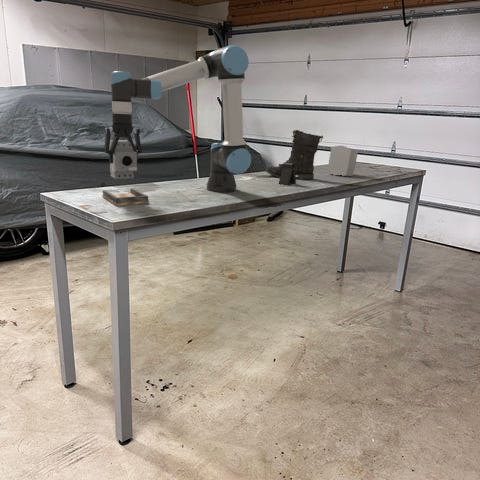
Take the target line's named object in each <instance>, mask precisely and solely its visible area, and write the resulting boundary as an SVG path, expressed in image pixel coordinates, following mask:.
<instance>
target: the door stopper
mask: <svg viewBox="0 0 480 480" xmlns="http://www.w3.org/2000/svg"><path fill="white" fill-rule="evenodd" d="M282 164H283V169H282V173H281V176H280V177H279V180H278V184H279V185H281V184H283V185H282V186H287V185H288V186H292V185H291V184H294V185H296V184H297V181H296V175H295V170H294V167H295V164H294V163H287V162H286V161H285V162H283V163H282Z"/></svg>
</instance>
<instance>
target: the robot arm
mask: <svg viewBox="0 0 480 480" xmlns="http://www.w3.org/2000/svg"><path fill="white" fill-rule="evenodd" d="M249 61H250V60H249V56H248V53H247V52H246V50H244V48H242V47H241V46H238V45H226V46H223V47H220V48H217V49H215V50H213V51H211V52H209V53H206V54H205V55H203V56H200V57H198V59H197V60H195V61H192V62H189V63H186V64H182V65H180V66H177V67H174V68H170V69H167V70H164V71H162V72H158V73H155V74H153V75H152V74H151V75H150V76H147V77H144V78H135V77H132V73H130V72H129V71H121V70H115V71H112V72H111V75H110V77H111V78H110V88H111V89H110V90H111V109H112V110H111V111H112V114H111V115H112V116H111V117H112V125H111V127H105V128H104V132H105V141H104V148H103V152H104V153H105V154H108V160H109V163H112V171H114V172H116V163H115V155H113V154H114V151H115V148H116V145H117V143H118V140H120V138H125V139H126V140H128V141H129V142H130V143H131V146H132V148H133V151H135V152H137V156H138V155H139V154H142V153H143V152H142V149H143V148H142V145H141V144H142V143H141V138H140V131H141V130H140V128H135V127H134V126H133V114H131V113H132V112H133V109H132V108H133V105H132V99H136V100H160V99H161V97H162V94H163V92H165V91H168V90H172V89H174V88H177V87H181V86H183V85H186V84H189V83H192V82H195V81H198V80H200V79H204V80H208V79H212V78H217V81H218V82H219V83H220V84H221V90H222V91H221V93H222V113H223V116H222V117H223V132H224V134H223V135H224V140H223V141H222V142H214V143H212V144H211V145H210V146H211V147H210V172H209V173H210V174H209V177H208V180H207V182H206V190H207V191H210V192H218V193H231V192H232V193H233V192H236V191H237V187H238V186H237V182H236V178H235V174H236V175H237V174H238V175H239V174H243V173H245V172H246V171H248V169H249V168H250V167H251V164H252V154H251V153H250V151H248V145H247V144H248V143H247V142H246V140H244V126H243V125H244V123H243V120H244V119H243V97H242V96H243V94H242V93H243V92H242V84H243V82H244V81H245V76H246V75H245V72H246V71H247V70H248V68H249V64H250V63H249ZM132 132H133V134H134V141H133V137H132V135H131V134H132ZM111 133H114V136H113V139H112V140H113V142H112V145H111V147H110V150H109V146H110V140H111V135H112V134H111Z"/></svg>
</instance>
